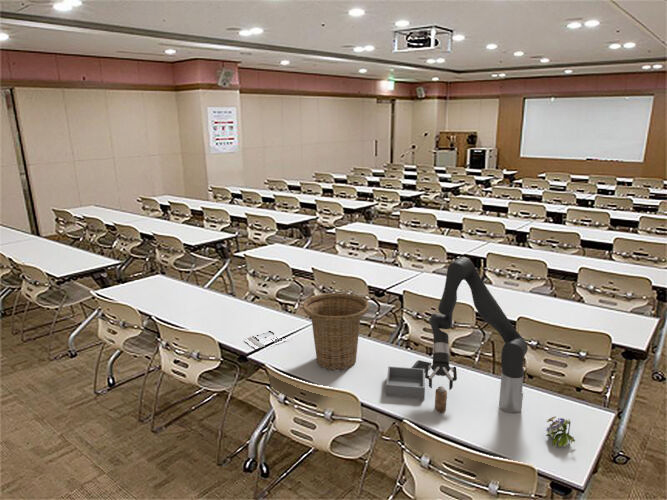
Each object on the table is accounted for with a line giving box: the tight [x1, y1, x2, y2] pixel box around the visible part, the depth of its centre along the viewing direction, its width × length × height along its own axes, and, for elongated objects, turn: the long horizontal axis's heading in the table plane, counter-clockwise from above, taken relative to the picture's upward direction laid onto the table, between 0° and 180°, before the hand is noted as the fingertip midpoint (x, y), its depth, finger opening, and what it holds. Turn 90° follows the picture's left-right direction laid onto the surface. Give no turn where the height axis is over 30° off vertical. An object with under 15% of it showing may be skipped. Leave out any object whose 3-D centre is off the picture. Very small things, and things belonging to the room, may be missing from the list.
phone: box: [411, 360, 432, 370], centre depth 256 cm, size 8×1×15 cm
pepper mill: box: [434, 386, 448, 413], centre depth 219 cm, size 5×5×10 cm
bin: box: [385, 365, 426, 400], centre depth 237 cm, size 18×18×6 cm
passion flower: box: [545, 416, 576, 448], centre depth 197 cm, size 11×11×12 cm
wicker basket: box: [302, 292, 370, 371], centre depth 261 cm, size 35×35×33 cm
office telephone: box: [246, 336, 286, 348], centre depth 292 cm, size 23×3×20 cm
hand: (440, 388), depth 221 cm, fingers open, 8 cm apart
